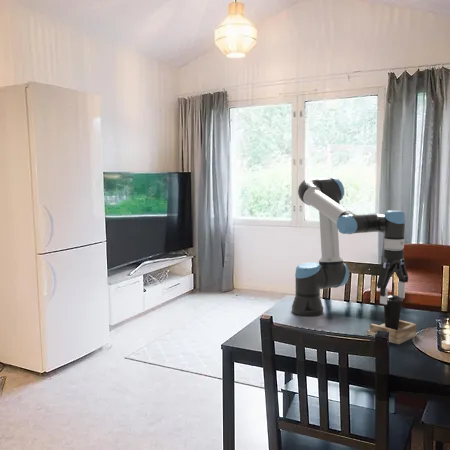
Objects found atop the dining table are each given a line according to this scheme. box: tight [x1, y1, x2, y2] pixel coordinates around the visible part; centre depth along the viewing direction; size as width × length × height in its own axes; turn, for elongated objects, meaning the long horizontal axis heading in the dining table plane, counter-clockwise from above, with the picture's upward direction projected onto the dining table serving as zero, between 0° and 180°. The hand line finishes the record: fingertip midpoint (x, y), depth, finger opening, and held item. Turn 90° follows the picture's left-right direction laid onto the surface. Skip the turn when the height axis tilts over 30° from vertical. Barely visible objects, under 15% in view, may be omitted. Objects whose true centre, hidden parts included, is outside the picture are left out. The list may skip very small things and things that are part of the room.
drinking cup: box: [383, 282, 404, 330], centre depth 185 cm, size 8×8×20 cm
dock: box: [366, 319, 418, 345], centre depth 185 cm, size 14×14×5 cm
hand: (392, 300), depth 184 cm, fingers open, 13 cm apart
